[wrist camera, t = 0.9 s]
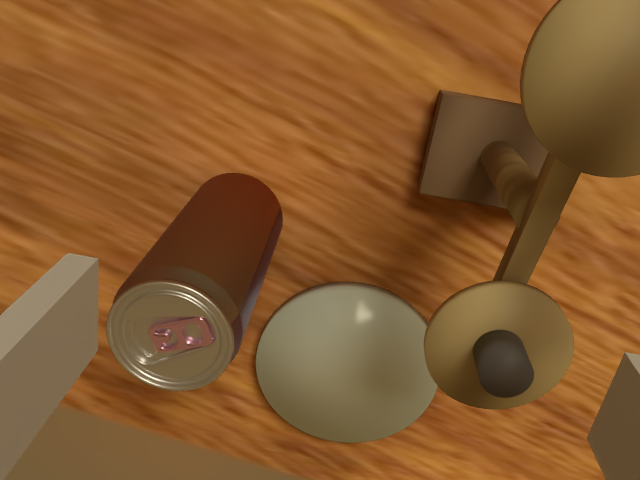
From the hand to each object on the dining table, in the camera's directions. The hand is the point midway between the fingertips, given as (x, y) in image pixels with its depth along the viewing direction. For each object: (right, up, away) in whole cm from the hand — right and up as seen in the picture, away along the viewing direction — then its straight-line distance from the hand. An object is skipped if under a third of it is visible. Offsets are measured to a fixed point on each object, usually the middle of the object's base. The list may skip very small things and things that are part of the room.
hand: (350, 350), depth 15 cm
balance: (+10, +8, +21) cm, 25 cm away
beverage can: (-6, +5, +25) cm, 26 cm away
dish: (+1, -6, +29) cm, 29 cm away
